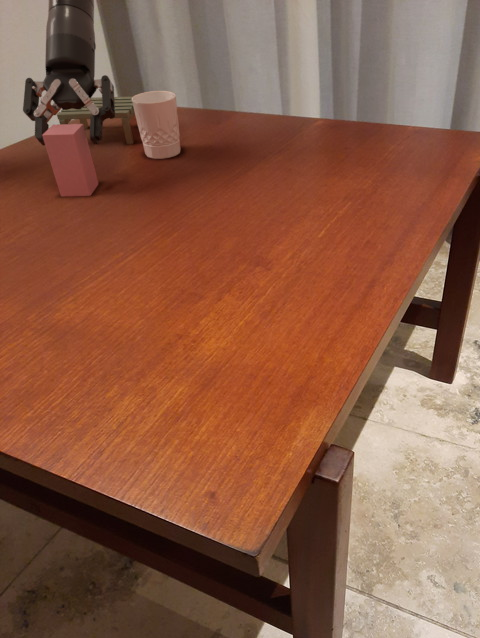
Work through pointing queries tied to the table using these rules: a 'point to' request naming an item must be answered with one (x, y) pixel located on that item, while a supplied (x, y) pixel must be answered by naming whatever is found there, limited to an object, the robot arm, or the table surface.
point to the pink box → (71, 159)
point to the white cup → (158, 123)
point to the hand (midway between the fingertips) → (68, 142)
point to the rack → (122, 107)
